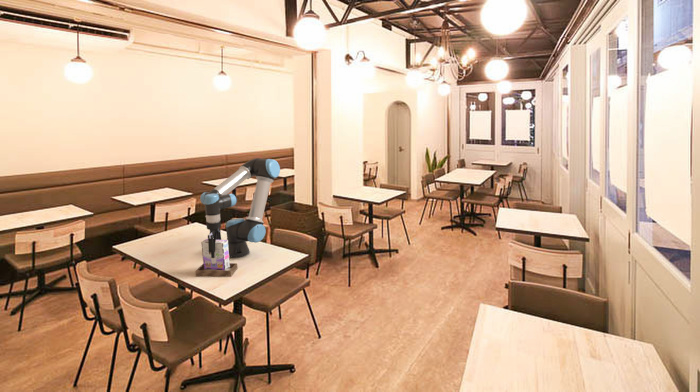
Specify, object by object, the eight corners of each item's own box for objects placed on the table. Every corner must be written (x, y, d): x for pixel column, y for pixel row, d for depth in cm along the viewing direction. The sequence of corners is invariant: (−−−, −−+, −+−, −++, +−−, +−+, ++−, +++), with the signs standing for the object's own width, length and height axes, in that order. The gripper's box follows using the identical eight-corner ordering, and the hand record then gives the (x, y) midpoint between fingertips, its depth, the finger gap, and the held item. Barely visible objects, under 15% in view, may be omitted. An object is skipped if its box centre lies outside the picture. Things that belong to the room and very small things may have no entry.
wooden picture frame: (195, 276, 221) (195, 270, 221) (204, 268, 233) (203, 263, 232) (231, 276, 221) (230, 271, 220) (237, 268, 233) (237, 263, 232)
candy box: (230, 267, 228) (228, 239, 224) (224, 270, 222) (222, 242, 219) (209, 265, 231) (207, 238, 228) (203, 268, 225) (200, 241, 222)
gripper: (213, 217, 231) (216, 254, 235) (199, 226, 212) (203, 266, 216) (225, 217, 231) (228, 254, 235) (213, 226, 211) (216, 266, 216)
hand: (216, 260), depth 226 cm, fingers closed on candy box, 6 cm apart
